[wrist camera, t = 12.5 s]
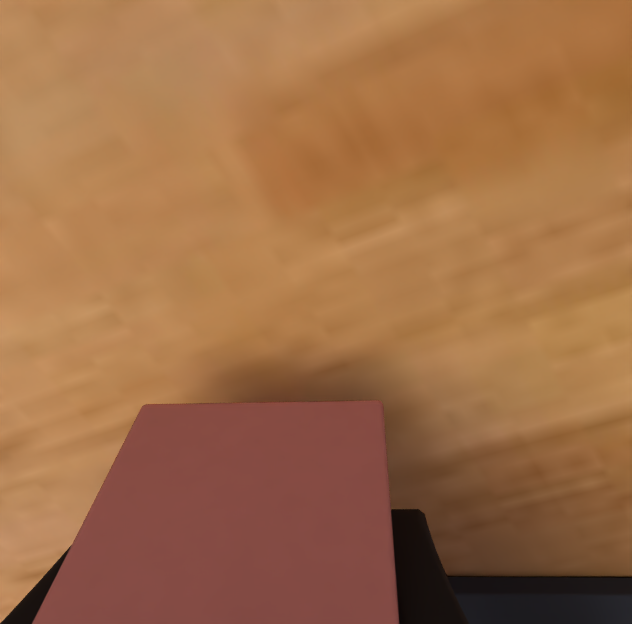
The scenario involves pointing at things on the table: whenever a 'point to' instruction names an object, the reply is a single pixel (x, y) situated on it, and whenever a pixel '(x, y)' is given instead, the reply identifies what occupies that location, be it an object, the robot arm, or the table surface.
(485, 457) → the table surface
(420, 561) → the robot arm
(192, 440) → the block
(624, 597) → the word mat
